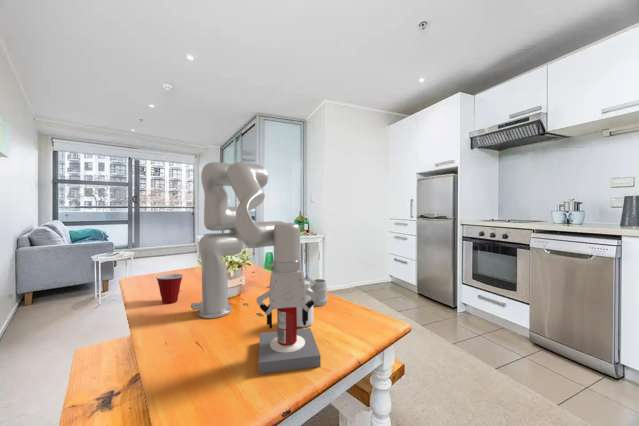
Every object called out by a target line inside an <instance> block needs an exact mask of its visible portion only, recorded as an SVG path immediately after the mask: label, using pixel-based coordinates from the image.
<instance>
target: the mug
mask: <svg viewBox="0 0 639 426" xmlns="http://www.w3.org/2000/svg"><path fill="white" fill-rule="evenodd" d="M306 279H307V280H306V281H309V282H310V289H311V290H312V291H313V292H314V293H316V294H317V298H316V300H315V302H314V305H313V307H323V306H326V305H327V304H328V301H329V297H328V296H327V290H328V287H327V280H326V279H322V278H315V279H312V280H311V279H310V278H306Z"/></svg>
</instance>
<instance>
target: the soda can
mask: <svg viewBox="0 0 639 426" xmlns="http://www.w3.org/2000/svg"><path fill="white" fill-rule="evenodd" d="M276 310H277V311H276V312H277V313H276V317H277V323H276V325H277V341H278V343H279V344H280V345H281V346H284V347H288V346H292V345H294V344H295V343H296V341H297V328H298V327H297V307H295V308H282V309H276Z"/></svg>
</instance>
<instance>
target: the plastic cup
mask: <svg viewBox="0 0 639 426" xmlns="http://www.w3.org/2000/svg"><path fill="white" fill-rule="evenodd" d="M183 277H184V274H181V273H167V274H160V275H157V276H156V277H155V279H156V280H157V284H158V288H159V292H160V293H159V294H160V298H161V302H162V304H164V305H171V304H174V303H177V302H178V301H179V300H178V299H179V294H180V288H181V282H182V279H183Z"/></svg>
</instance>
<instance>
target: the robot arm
mask: <svg viewBox="0 0 639 426" xmlns="http://www.w3.org/2000/svg"><path fill="white" fill-rule="evenodd" d="M200 175H201V176H200V178H201V179H200V181H201V185H202V189H203V194H204V199H203V200H204V201H203V205H204V208H203V225H204V228H205V229H206V230H208V231H212V232H215V231H216V232H218V231H228V232H220V233H219V232H218V233H209V234H206V235H203V236H201V238H200V239H199V242H198V250H199V254H200V262H201V289H202V290H201V292H202V293H201V296H202V297H201V298H202V300H201V301H199V302H192V303H191V304H190V309H192V311H195V310H198V312H197V313H198V315H197V316H199V317H200V318H203V319H217V318H220V317H224V316H227V315H229V314H230V313H231V312H232V310H233V307H232V305H230V304H229V300H228V299H229V297H228V295H229V293H228V292H229V291H228V288H229V285H228V284H229V283H228V282H229V281H228V267H227V264H226V262H225V261H224V260H223V259H222V258H223V257H229V256H234V255H235V256H236V255H239V254H241V253H242V251H243V249H244V248H245V247H244V246H245V245H246V247H247V248H250V249H257V248H259V249H260V248H265V247H273V261H271V262H268V268H271V269H273V270H272V271H271V273H270V278H269V291H266V292H265V293H263V294H261V295H260V296H258V297H256V300H255V301H256V303H257V305H258V306H259V309H261V311H263V312H264V313H265V315H266V325H268V326H269V327H268V328H269V330H271V329H273V314H272V313H273V310H274V309H275V310H277V309H282V308H295V307H302V308H303V309H302V322H303V325H304V326H305V325H306V321H308V311H309V309H310V308H311V307H312V306H313V307H314V302H315V300H316V298H317V294H316V293H314V292H311V291H309V290H307V289H305V281H306V280H305V274H304V270H303V269H301V228H300V225H299V224H298V223H296V222H284V221H279V220H273V221H271V220H270V221H269V220H268V221H254V219H253V218H252V216H251V214H250V211H251V210H253V209H256V208H258V207H259V206H261V204H263V202H264V200H265V196H266V195H265V192H264V190H263V189H262V188H264V187H265V186H267V184H268V181H269V173H268V172H267V170H266V168H265V167H264V166H263V165H260V164H257V163H249V162H248V163H247V162H234V163H229V162H217V161H214V162H213V161H212V162H208V163H206V164H205V165H204V166H203V167H202V170H201V173H200ZM223 186H226V187H227V186H228V187H231V188H232V190H233V192H234V194H235V197H236V198H237V201H238V202H239V204H238V206H228V200H229V198H228V197H229V195H228V192H227V191H226V190H225V188H224V187H223ZM306 295H308V296H310V297H311V299H310V300H309V301H308V302H307V303H306ZM268 298H269V299H268ZM266 299H268V300H269V301H268V302H269V304H268V305H266V304H265V303H264V301H265V300H266Z"/></svg>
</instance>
